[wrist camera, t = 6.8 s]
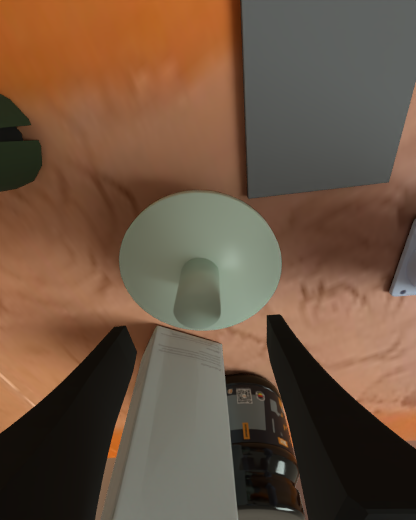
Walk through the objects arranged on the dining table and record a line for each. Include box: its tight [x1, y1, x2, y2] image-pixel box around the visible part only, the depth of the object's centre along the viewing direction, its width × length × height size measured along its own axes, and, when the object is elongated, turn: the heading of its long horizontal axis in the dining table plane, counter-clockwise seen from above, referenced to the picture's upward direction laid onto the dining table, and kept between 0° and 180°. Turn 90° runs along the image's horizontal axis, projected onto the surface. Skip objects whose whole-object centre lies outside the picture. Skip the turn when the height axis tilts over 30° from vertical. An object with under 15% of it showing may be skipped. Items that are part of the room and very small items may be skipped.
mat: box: [240, 0, 416, 199], centre depth 14 cm, size 10×12×1 cm
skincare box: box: [101, 326, 238, 520], centre depth 21 cm, size 8×6×15 cm
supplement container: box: [225, 374, 305, 520], centre depth 26 cm, size 10×10×12 cm
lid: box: [119, 190, 282, 331], centre depth 14 cm, size 11×11×4 cm
